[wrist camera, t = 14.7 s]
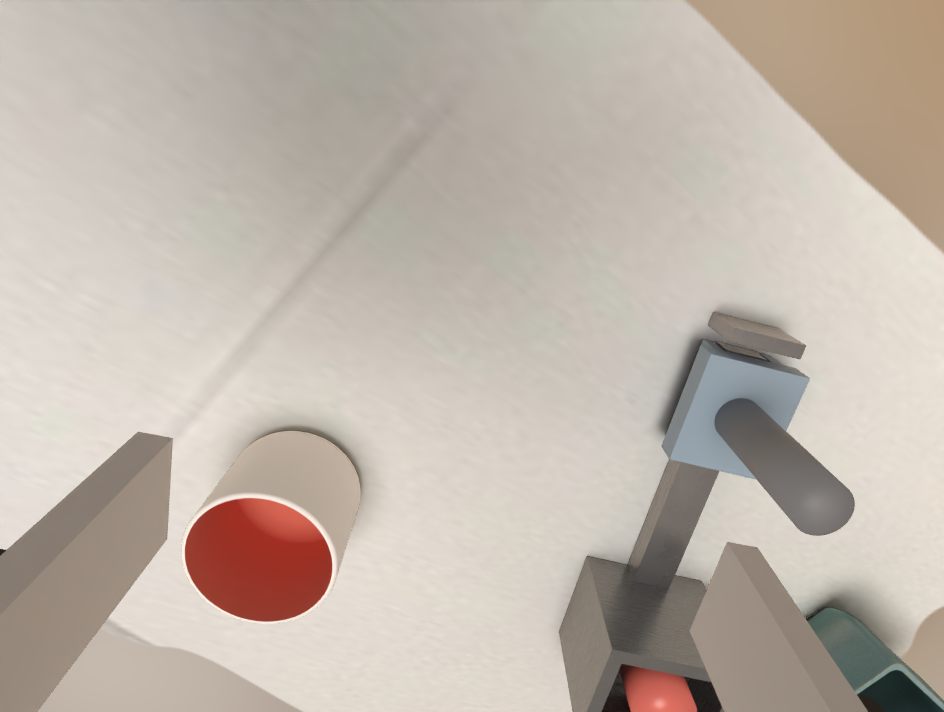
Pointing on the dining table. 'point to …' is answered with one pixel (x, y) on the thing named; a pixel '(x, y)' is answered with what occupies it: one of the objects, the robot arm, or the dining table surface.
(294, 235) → the dining table surface
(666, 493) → the rail
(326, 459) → the cup
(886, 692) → the flower pot
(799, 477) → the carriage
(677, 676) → the button
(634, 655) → the open box
